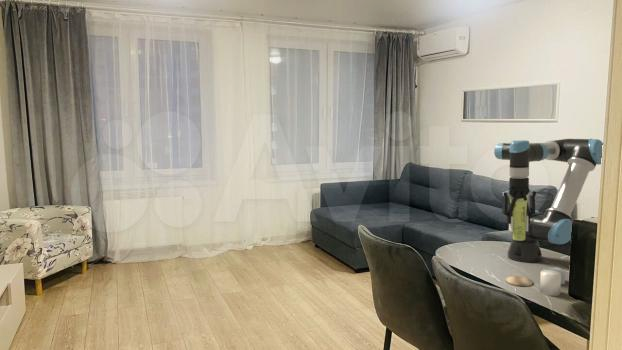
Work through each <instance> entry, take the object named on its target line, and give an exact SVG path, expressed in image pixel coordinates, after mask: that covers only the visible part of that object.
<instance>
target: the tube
mask: <svg viewBox="0 0 622 350" xmlns="http://www.w3.org/2000/svg"><path fill="white" fill-rule="evenodd" d="M526 197H527V200H526V201H524V199H523V198H522V199H517V201H516V202H515V206H514V209H513V212H512V215H511V216H513V232H511V234H512V233H513V240H517V241H523V240H525V230H526V211H527V202H528V201H529V200H528V199H529V194H528V195H526ZM512 199H514V198H513V197H512V196H511V195H510V194H509V196H508V200H509V204H511V202H512Z"/></svg>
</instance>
